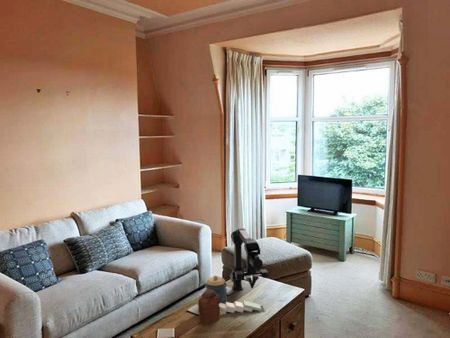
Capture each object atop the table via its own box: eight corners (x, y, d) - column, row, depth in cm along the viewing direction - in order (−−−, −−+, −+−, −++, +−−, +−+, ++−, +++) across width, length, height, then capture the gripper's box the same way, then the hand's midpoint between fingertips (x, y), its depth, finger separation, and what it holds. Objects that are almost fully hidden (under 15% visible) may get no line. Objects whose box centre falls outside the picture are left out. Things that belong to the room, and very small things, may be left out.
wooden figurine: (215, 315, 196) (214, 285, 194) (221, 320, 191) (220, 289, 189) (197, 322, 190) (195, 291, 188) (203, 328, 184) (201, 295, 182)
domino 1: (225, 309, 202) (208, 311, 201) (225, 306, 202) (207, 308, 201) (226, 313, 197) (208, 315, 196) (225, 311, 197) (208, 313, 196)
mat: (221, 309, 203) (221, 308, 203) (262, 306, 205) (262, 305, 205) (222, 315, 196) (222, 315, 196) (265, 312, 198) (265, 311, 198)
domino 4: (250, 307, 204) (234, 303, 202) (250, 305, 203) (234, 301, 202) (251, 311, 199) (235, 308, 197) (252, 309, 198) (236, 305, 197)
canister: (231, 302, 211) (230, 274, 209) (216, 311, 201) (216, 282, 200) (216, 296, 220) (215, 269, 218) (201, 304, 210) (200, 276, 208)
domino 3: (241, 308, 203) (225, 304, 202) (242, 305, 203) (226, 301, 202) (242, 312, 198) (226, 308, 197) (243, 310, 198) (227, 305, 197)
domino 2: (232, 308, 202) (216, 304, 201) (233, 306, 202) (217, 302, 201) (233, 313, 197) (217, 309, 196) (234, 310, 197) (218, 306, 196)
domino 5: (258, 306, 204) (242, 303, 203) (259, 304, 204) (243, 300, 203) (260, 311, 199) (244, 307, 198) (261, 308, 199) (244, 304, 198)
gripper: (264, 256, 208) (264, 281, 210) (233, 258, 207) (234, 283, 208) (268, 263, 197) (268, 289, 199) (236, 265, 196) (236, 291, 197)
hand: (252, 288), depth 201 cm, fingers closed
